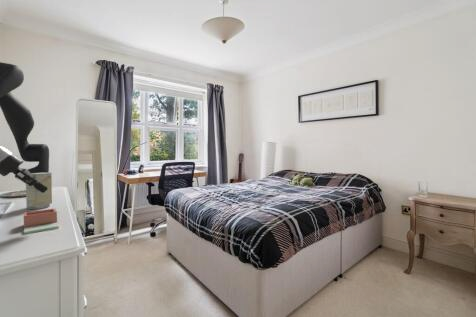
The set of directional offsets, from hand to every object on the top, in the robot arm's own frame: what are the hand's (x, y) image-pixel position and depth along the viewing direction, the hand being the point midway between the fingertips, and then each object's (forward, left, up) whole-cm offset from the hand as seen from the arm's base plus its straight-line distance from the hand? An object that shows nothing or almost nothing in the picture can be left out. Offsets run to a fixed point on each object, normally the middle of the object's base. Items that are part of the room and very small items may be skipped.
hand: (45, 189), depth 90 cm
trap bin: (-8, -1, -15) cm, 17 cm away
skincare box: (0, -2, -6) cm, 6 cm away
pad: (0, -1, -15) cm, 15 cm away
